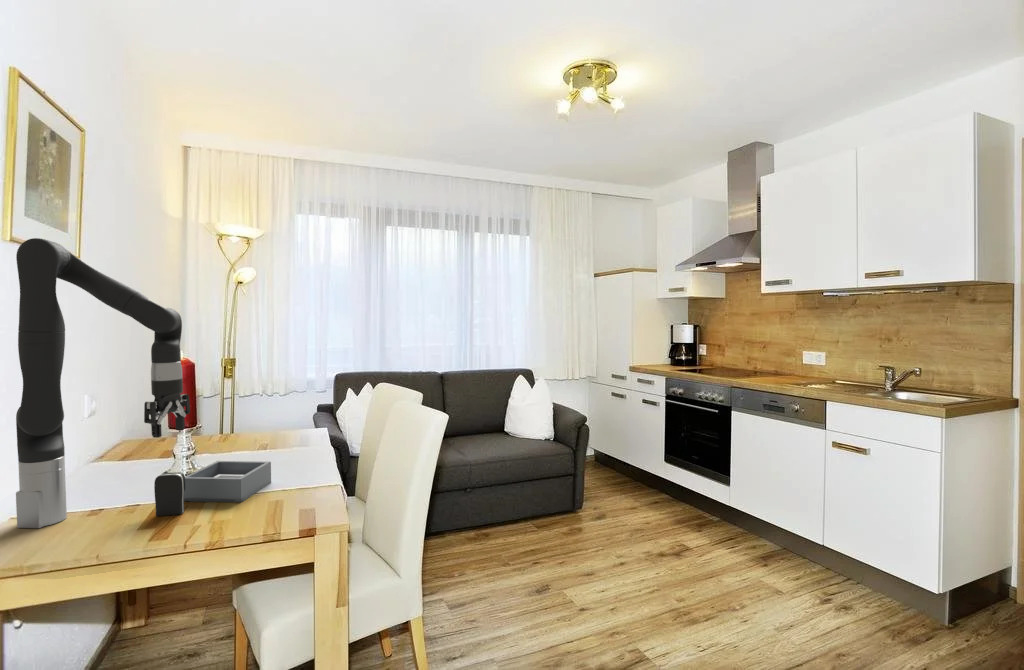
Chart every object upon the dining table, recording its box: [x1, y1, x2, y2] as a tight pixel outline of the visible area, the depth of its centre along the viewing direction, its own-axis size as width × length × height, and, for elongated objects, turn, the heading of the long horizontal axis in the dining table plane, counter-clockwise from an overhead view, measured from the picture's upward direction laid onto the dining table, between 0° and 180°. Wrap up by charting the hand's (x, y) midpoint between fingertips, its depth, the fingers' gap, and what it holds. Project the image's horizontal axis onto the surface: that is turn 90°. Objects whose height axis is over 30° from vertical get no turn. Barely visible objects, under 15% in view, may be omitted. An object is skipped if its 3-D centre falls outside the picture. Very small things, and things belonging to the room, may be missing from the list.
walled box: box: [184, 460, 272, 503], centre depth 164 cm, size 18×18×7 cm
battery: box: [153, 472, 186, 517], centre depth 146 cm, size 7×4×11 cm, turn 103°
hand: (168, 433), depth 151 cm, fingers open, 8 cm apart
